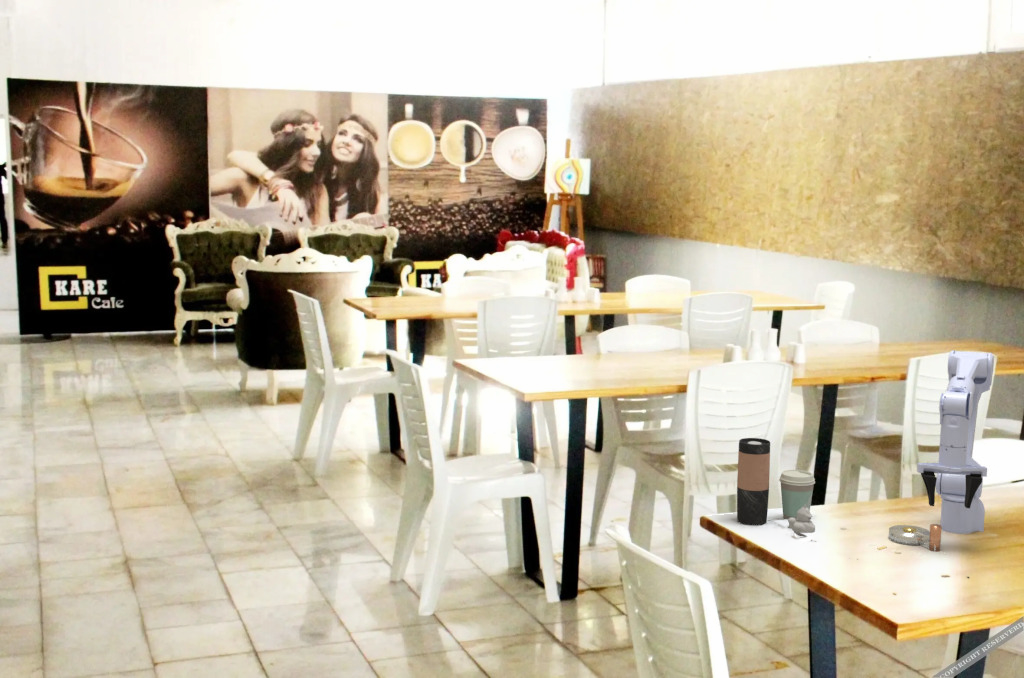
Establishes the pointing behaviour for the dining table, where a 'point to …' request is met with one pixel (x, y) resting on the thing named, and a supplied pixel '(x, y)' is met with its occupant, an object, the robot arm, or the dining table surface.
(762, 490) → the travel mug
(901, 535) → the dial
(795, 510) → the coffee cup
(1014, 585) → the dining table surface
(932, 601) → the dining table surface
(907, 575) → the dining table surface
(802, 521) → the grey animal figurine
